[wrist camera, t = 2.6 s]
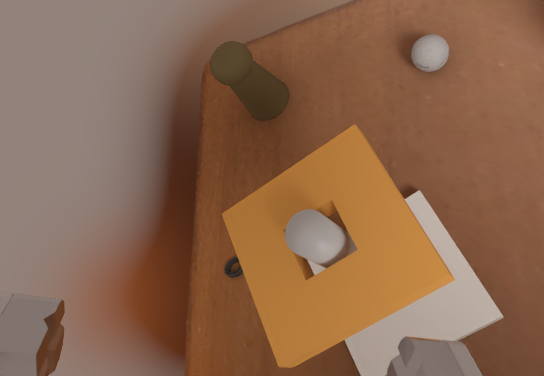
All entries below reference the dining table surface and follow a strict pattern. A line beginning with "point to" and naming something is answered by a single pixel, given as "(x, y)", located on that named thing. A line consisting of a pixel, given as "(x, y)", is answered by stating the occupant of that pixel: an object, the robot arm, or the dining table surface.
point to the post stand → (418, 315)
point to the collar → (345, 273)
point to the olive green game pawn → (249, 80)
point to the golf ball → (430, 53)
